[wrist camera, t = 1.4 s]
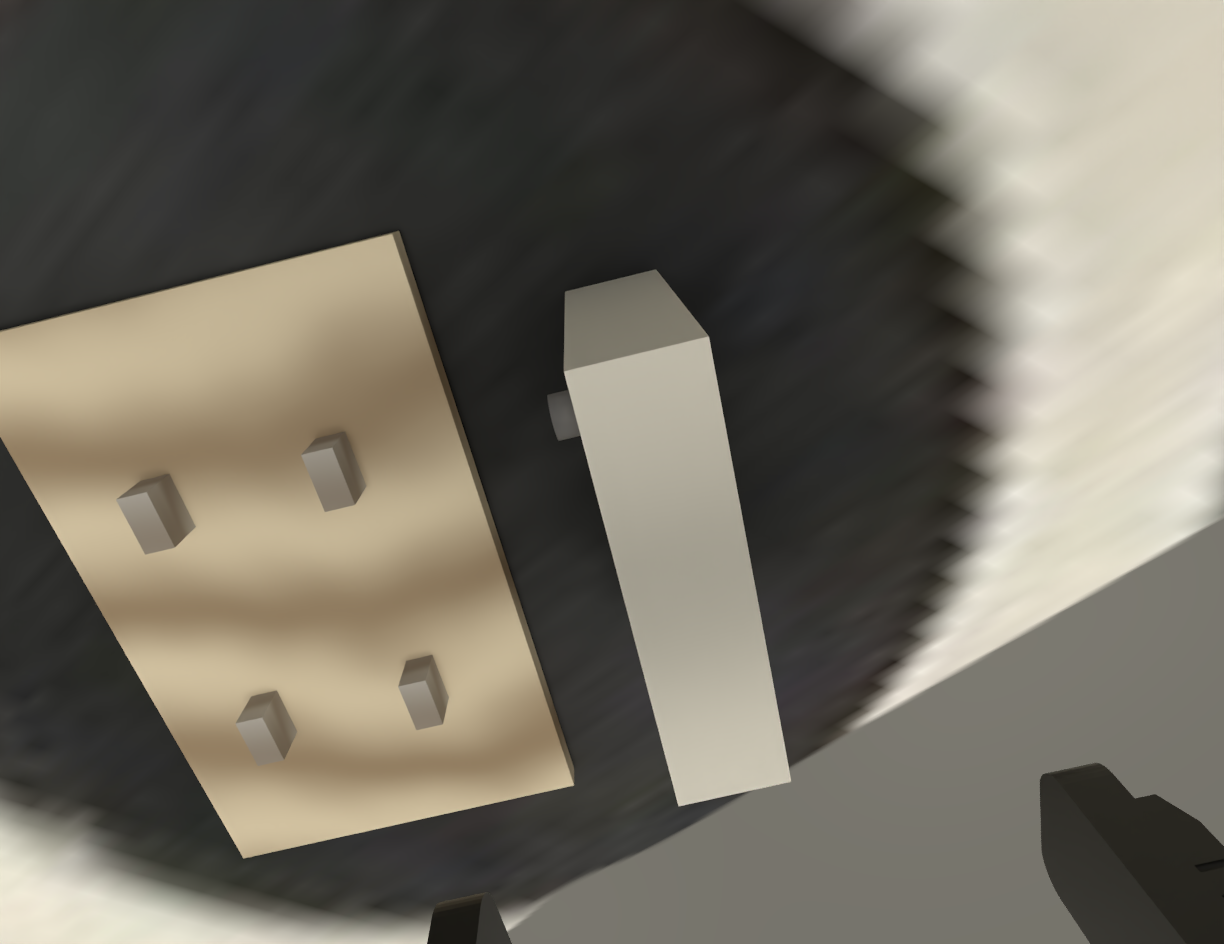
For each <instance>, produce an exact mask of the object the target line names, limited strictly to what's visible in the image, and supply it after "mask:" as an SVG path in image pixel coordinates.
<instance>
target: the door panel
mask: <svg viewBox="0 0 1224 944" xmlns="http://www.w3.org/2000/svg"><path fill="white" fill-rule="evenodd" d="M564 374H565V378H566V382H567V386H568V389H569V390H566V391H561V392H557V393H553V394H549V395H547V399H548V406H549V411H550V415H551V420H552V423H553V427H554V430H555V434H556V436H557V439H558V441H560V440H564V439H569V438H573V437H577V436H581V439H582V442H583V446H584V450H585V454H586V458H587V461H588V465H589V469H590V473H591V477H592V480H593V484H594V488H595V492H596V495H597V499H598V503H599V507H600V511H601V514H602V518H603V522H604V526H605V530H606V533H607V537H608V541H609V545H610V548H611V552H612V556H613V560H614V564H615V567H616V571H617V575H618V579H619V583H620V586H621V590H622V594H623V598H624V601H625V605H626V609H627V613H628V617H629V620H630V624H631V628H632V632H633V636H634V639H635V643H636V647H637V651H638V655H639V658H640V662H641V666H642V670H643V673H644V677H645V681H646V685H647V689H648V692H649V696H650V700H651V704H652V708H653V711H654V715H655V719H656V723H657V726H658V730H659V734H660V738H661V742H662V745H663V749H664V753H665V757H666V761H667V764H668V768H669V772H670V776H671V779H672V783H673V787H674V791H675V795H676V798H677V802H678V806H682V805H687V804H691V803H696V802H701V801H705V800H710V799H714V798H719V797H723V796H728V795H733V794H737V793H742V792H746V791H751V790H755V789H760V788H764V787H769V786H774V785H778V784H782V783H788V782H791V777H790V772H789V767H788V761H787V756H786V750H785V745H784V740H783V734H782V729H781V723H780V718H779V713H778V707H777V702H776V696H775V691H774V686H773V680H772V675H771V669H770V664H769V659H768V653H767V648H766V642H765V637H764V632H763V626H762V621H761V615H760V610H759V605H758V599H757V594H756V588H755V583H754V578H753V572H752V567H751V561H750V556H749V551H748V545H747V540H746V534H745V529H744V524H743V518H742V513H741V507H740V502H739V497H738V491H737V486H736V480H735V475H734V470H733V464H732V459H731V453H730V448H729V443H728V437H727V432H726V426H725V421H724V416H723V410H722V405H721V400H720V394H719V389H718V383H717V378H716V373H715V367H714V362H713V356H712V351H711V346H710V340H709V336H708V335H707V333H706V332H705V331H704V330H703V328H702V327H701V326H700V325H699V323H698V322H697V321H696V320H695V318H694V317H693V316H692V314H691V313H690V312H689V311H688V309H687V308H686V307H685V306H684V304H683V303H682V302H681V300H680V299H679V298H678V297H677V295H676V294H675V293H674V292H673V290H672V289H671V288H670V286H669V285H668V284H667V283H666V281H665V280H664V279H663V278H662V276H661V275H660V274H659V273H658V271H657V270H656V269H655V270H651V271H647V272H643V273H639V274H635V275H631V276H627V277H623V278H619V279H615V280H611V281H606V282H602V283H598V284H594V285H590V286H586V287H582V288H578V289H574V290H570V291H566V292H565V324H564Z"/></svg>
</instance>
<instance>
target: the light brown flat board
mask: <svg viewBox="0 0 1224 944" xmlns="http://www.w3.org/2000/svg"><path fill="white" fill-rule="evenodd" d="M0 437H1V439H2V440H3V442H4V444H5V446H6V447H7V449H8V451H9V453H10V454H11V456H12V458H13V460H14V461H15V463H16V465H17V466H18V468H19V470H20V472H21V473H22V475H23V477H24V479H25V480H26V482H27V484H28V486H29V487H30V489H31V491H32V492H33V494H34V496H35V498H36V499H37V501H38V503H39V505H40V506H41V508H42V510H43V512H44V513H45V515H46V517H47V518H48V520H49V522H50V524H51V525H52V527H53V529H54V531H55V532H56V534H57V536H58V538H59V539H60V541H61V543H62V544H63V546H64V548H65V550H66V551H67V553H68V555H69V557H70V558H71V560H72V562H73V564H74V565H75V567H76V569H77V570H78V572H79V574H80V576H81V577H82V579H83V581H84V583H85V584H86V586H87V588H88V589H89V591H90V593H91V595H92V596H93V598H94V600H95V602H96V603H97V605H98V607H99V609H100V610H101V612H102V614H103V615H104V617H105V619H106V621H107V622H108V624H109V626H110V628H111V629H112V631H113V633H114V635H115V636H116V638H117V640H118V641H119V643H120V645H121V647H122V648H123V650H124V652H125V654H126V655H127V657H128V659H129V661H130V662H131V664H132V666H133V667H134V669H135V671H136V673H137V674H138V676H139V678H140V680H141V681H142V683H143V685H144V687H145V688H146V690H147V692H148V693H149V695H150V697H151V699H152V700H153V702H154V704H155V706H156V707H157V709H158V711H159V713H160V714H161V716H162V718H163V719H164V721H165V723H166V725H167V726H168V728H169V730H170V732H171V733H172V735H173V737H174V739H175V740H176V742H177V744H178V745H179V747H180V749H181V751H182V752H183V754H184V756H185V758H186V759H187V761H188V763H189V765H190V766H191V768H192V770H193V771H194V773H195V775H196V777H197V778H198V780H199V782H200V784H201V785H202V787H203V789H204V791H205V792H206V794H207V796H208V797H209V799H210V801H211V803H212V804H213V806H214V808H215V810H216V811H217V813H218V815H219V817H220V818H221V820H222V822H223V823H224V825H225V827H226V829H227V830H228V832H229V834H230V836H231V837H232V839H233V841H234V843H235V844H236V846H237V848H238V849H239V851H240V853H241V855H242V856H243V858H247V857H252V856H256V855H261V854H265V853H270V852H274V851H279V850H284V849H288V848H293V847H297V846H302V845H306V844H311V843H315V842H320V841H324V840H329V839H333V838H338V837H342V836H347V835H351V834H356V833H360V832H365V831H370V830H374V829H379V828H383V827H388V826H392V825H397V824H401V823H406V822H410V821H415V820H419V819H424V818H428V817H433V816H437V815H442V814H447V813H451V812H456V811H460V810H465V809H469V808H474V807H478V806H483V805H487V804H492V803H496V802H501V801H505V800H510V799H514V798H519V797H524V796H528V795H533V794H537V793H542V792H546V791H551V790H555V789H560V788H564V787H569V786H573V785H574V766H573V763H572V760H571V757H570V754H569V751H568V748H567V745H566V742H565V738H564V735H563V732H562V729H561V726H560V723H559V720H558V717H557V714H556V711H555V708H554V705H553V702H552V699H551V696H550V692H549V689H548V686H547V683H546V680H545V677H544V674H543V671H542V668H541V665H540V662H539V659H538V656H537V653H536V650H535V646H534V643H533V640H532V637H531V634H530V631H529V628H528V625H527V622H526V619H525V616H524V613H523V610H522V607H521V604H520V600H519V597H518V594H517V591H516V588H515V585H514V582H513V579H512V576H511V573H510V570H509V567H508V564H507V561H506V557H505V554H504V551H503V548H502V545H501V542H500V539H499V536H498V533H497V530H496V527H495V524H494V521H493V518H492V515H491V511H490V508H489V505H488V502H487V499H486V496H485V493H484V490H483V487H482V484H481V481H480V478H479V475H478V472H477V469H476V465H475V462H474V459H473V456H472V453H471V450H470V447H469V444H468V441H467V438H466V435H465V432H464V429H463V426H462V423H461V419H460V416H459V413H458V410H457V407H456V404H455V401H454V398H453V395H452V392H451V389H450V386H449V383H448V380H447V377H446V373H445V370H444V367H443V364H442V361H441V358H440V355H439V352H438V349H437V346H436V343H435V340H434V337H433V334H432V330H431V327H430V324H429V321H428V318H427V315H426V312H425V309H424V306H423V303H422V300H421V297H420V294H419V291H418V288H417V284H416V281H415V278H414V275H413V272H412V269H411V266H410V263H409V260H408V257H407V254H406V251H405V248H404V245H403V242H402V238H401V235H400V232H399V231H396V232H392V233H388V234H384V235H380V236H376V237H372V238H368V239H364V240H360V241H356V242H352V243H348V244H344V245H340V246H336V247H332V248H328V249H324V250H320V251H316V252H312V253H308V254H304V255H300V256H296V257H292V258H288V259H284V260H280V261H276V262H272V263H268V264H264V265H260V266H256V267H252V268H248V269H244V270H240V271H236V272H232V273H228V274H224V275H220V276H216V277H212V278H208V279H204V280H200V281H196V282H192V283H188V284H184V285H180V286H177V287H173V288H169V289H165V290H161V291H157V292H153V293H149V294H145V295H141V296H137V297H133V298H129V299H125V300H121V301H117V302H113V303H109V304H105V305H101V306H97V307H93V308H89V309H85V310H81V311H77V312H73V313H69V314H65V315H61V316H57V317H53V318H49V319H45V320H41V321H37V322H33V323H29V324H25V325H21V326H17V327H13V328H9V329H5V330H1V331H0Z"/></svg>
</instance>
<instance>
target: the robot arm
mask: <svg viewBox="0 0 1224 944" xmlns="http://www.w3.org/2000/svg"><path fill="white" fill-rule="evenodd" d="M1040 807H1041V843H1042V855H1043V859H1044V863H1045V866H1046V869H1047V872H1048V875H1049V877H1050V880H1051V882H1052V884H1053V886H1054V888H1055V890H1056V892H1057V894H1058V895H1059V897H1060V899H1061V900H1062V902H1063V903H1064V905H1065V906H1066V908H1067V909H1068V911H1069V912H1070V914H1071V915H1072V917H1073V918H1074V920H1075V921H1076V923H1077V924H1078V926H1079V927H1080V929H1081V930H1082V932H1083V933H1084V934H1085V936H1086V938H1087V939H1088V941H1089V942H1090V944H1224V846H1223V845H1222V844H1221V843H1220V842H1219V841H1218V840H1217V839H1216V838H1215V837H1214V836H1213V835H1212V834H1211V833H1210V832H1209V831H1208V829H1207V828H1205V826H1204V825H1203V824H1202V823H1201V822H1200V821H1198V820H1197V819H1195V818H1193V817H1192V816H1190V815H1189V814H1187V813H1185V812H1184V811H1182V810H1180V809H1179V808H1177V807H1175V806H1174V805H1172V804H1170V803H1169V802H1167V801H1165V800H1164V799H1162V798H1161V797H1159V796H1157V795H1150V796H1145V797H1140V798H1136V799H1135V798H1134V797H1133V796H1132V795H1131V794H1130V793H1129V792H1128V790H1126V788H1125V787H1124V786H1123V785H1122V784H1121V783H1120V781H1119V780H1118V779H1117V778H1116V777H1115V776H1114V775H1113V774H1112V773H1111V772H1110V771H1109V770H1108V769H1107V768H1106V767H1105V766H1103V765H1101V764H1099V763H1093V764H1088V765H1083V766H1079V767H1074V768H1069V769H1064V770H1060V771H1055V772H1051V773H1046V774H1043V775H1042V776H1041V779H1040ZM427 944H512V943H511V941H510V938H509V936H508V933H507V931H506V928H505V926H504V923H503V921H502V919H501V916H500V914H499V911H498V909H497V906H496V904H495V901H494V899H493V897H492V896H491V894H490V893H488V892H486V893H482V894H477V895H472V896H468V897H463V898H459V899H454V900H449V901H445V902H440V903H438V904H437V905H436V907H435V909H434V912H433V915H432V920H431V926H430V931H429V937H428V942H427Z"/></svg>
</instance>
